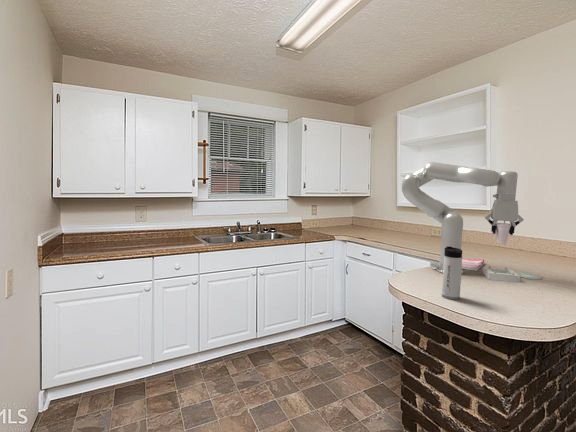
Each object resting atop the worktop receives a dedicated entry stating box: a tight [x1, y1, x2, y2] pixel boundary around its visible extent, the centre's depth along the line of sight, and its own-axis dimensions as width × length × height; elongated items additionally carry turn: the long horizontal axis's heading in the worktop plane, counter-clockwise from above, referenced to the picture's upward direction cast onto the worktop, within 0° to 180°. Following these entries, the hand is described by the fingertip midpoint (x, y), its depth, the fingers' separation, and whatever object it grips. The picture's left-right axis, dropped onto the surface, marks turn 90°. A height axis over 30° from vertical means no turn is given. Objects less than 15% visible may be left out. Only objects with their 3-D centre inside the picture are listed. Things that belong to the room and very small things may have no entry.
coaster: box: [516, 272, 543, 280], centre depth 149 cm, size 10×10×1 cm
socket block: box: [482, 266, 521, 283], centre depth 147 cm, size 12×12×4 cm
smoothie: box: [495, 221, 511, 245], centre depth 145 cm, size 6×6×14 cm
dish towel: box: [461, 257, 485, 272], centre depth 172 cm, size 17×23×4 cm
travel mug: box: [441, 246, 463, 301], centre depth 118 cm, size 6×7×20 cm
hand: (502, 233), depth 145 cm, fingers closed on smoothie, 6 cm apart
